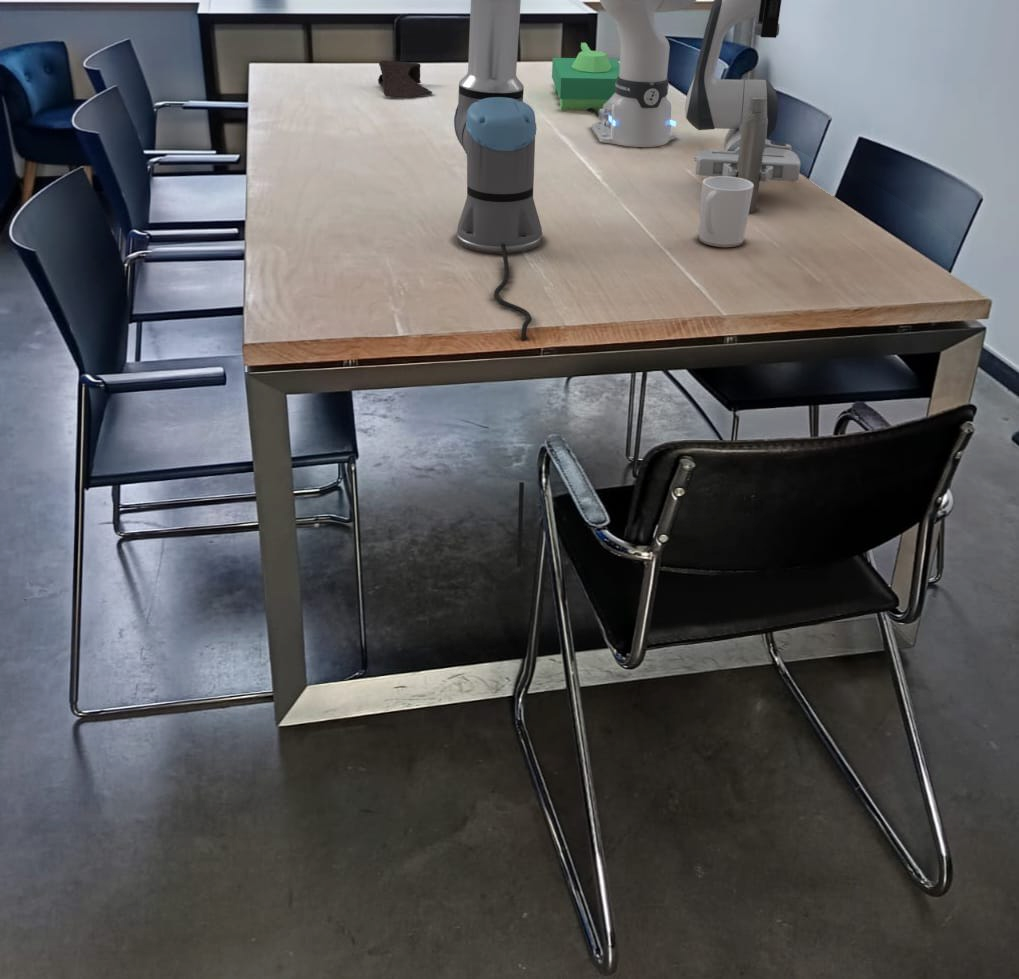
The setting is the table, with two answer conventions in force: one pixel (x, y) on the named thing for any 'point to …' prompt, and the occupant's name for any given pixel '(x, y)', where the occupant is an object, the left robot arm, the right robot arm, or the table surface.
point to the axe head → (401, 79)
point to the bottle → (753, 145)
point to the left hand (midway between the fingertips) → (766, 34)
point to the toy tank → (585, 79)
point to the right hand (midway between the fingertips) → (748, 176)
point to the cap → (759, 26)
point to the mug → (724, 210)
